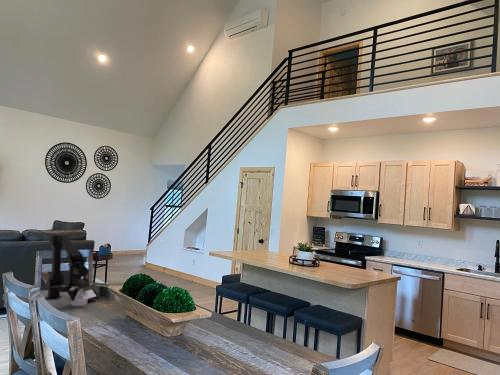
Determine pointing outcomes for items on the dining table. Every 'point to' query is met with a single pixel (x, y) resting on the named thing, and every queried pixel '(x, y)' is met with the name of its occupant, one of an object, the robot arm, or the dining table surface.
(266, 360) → the dining table surface
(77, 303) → the wedge on round base
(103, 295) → the gauge housing
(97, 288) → the gauge plunger
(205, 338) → the dining table surface
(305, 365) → the dining table surface
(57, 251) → the robot arm
